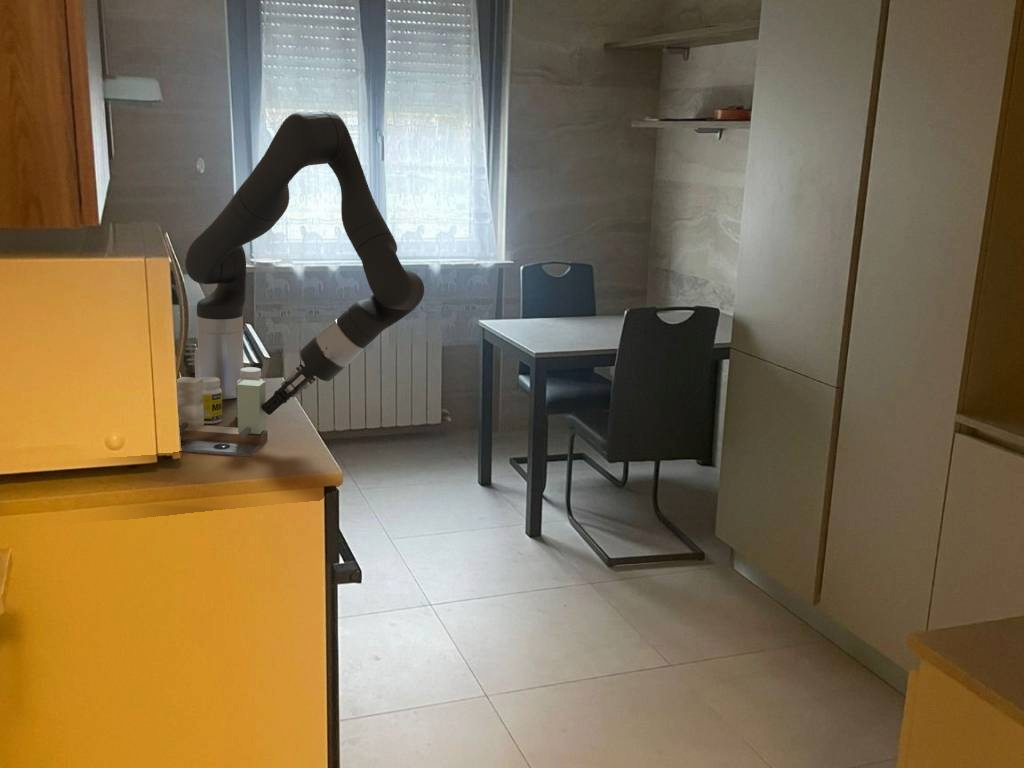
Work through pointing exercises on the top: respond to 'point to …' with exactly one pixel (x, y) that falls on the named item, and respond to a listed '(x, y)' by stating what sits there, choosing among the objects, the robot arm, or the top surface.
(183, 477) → the top surface
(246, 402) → the slide leg
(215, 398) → the supplement bottle
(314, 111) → the robot arm
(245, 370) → the pill bottle
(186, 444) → the hole plate
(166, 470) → the top surface
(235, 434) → the rail
